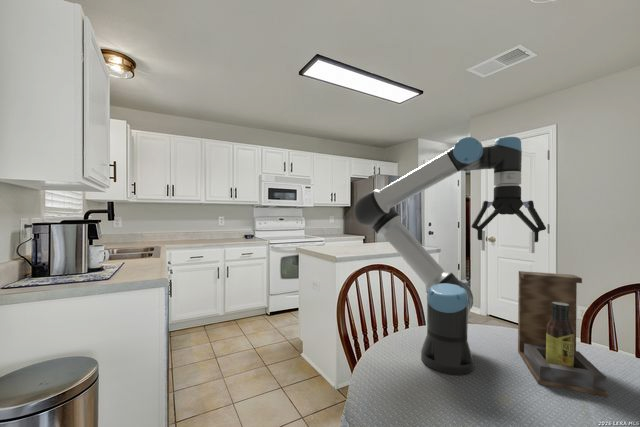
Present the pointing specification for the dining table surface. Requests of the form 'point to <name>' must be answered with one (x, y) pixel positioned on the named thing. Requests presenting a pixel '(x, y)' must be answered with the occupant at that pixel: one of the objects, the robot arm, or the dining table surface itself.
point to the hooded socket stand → (533, 326)
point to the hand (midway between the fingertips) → (506, 251)
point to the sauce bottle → (560, 337)
